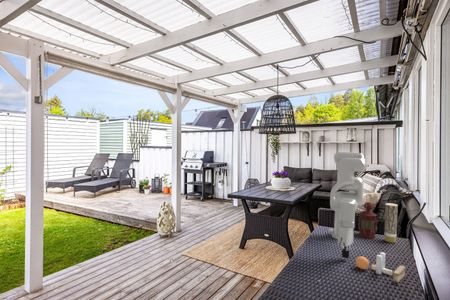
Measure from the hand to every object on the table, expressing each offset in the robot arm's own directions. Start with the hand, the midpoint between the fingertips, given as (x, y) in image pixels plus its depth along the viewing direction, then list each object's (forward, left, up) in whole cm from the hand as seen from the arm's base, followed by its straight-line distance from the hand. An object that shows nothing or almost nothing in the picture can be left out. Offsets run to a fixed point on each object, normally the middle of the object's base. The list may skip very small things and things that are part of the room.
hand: (345, 257), depth 141 cm
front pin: (+13, 0, 0) cm, 13 cm away
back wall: (+25, 0, -2) cm, 25 cm away
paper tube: (+7, +56, -2) cm, 56 cm away
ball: (+10, -4, +2) cm, 11 cm away
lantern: (-7, +55, -2) cm, 55 cm away
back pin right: (+17, -2, -2) cm, 17 cm away
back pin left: (+17, +3, -2) cm, 17 cm away
